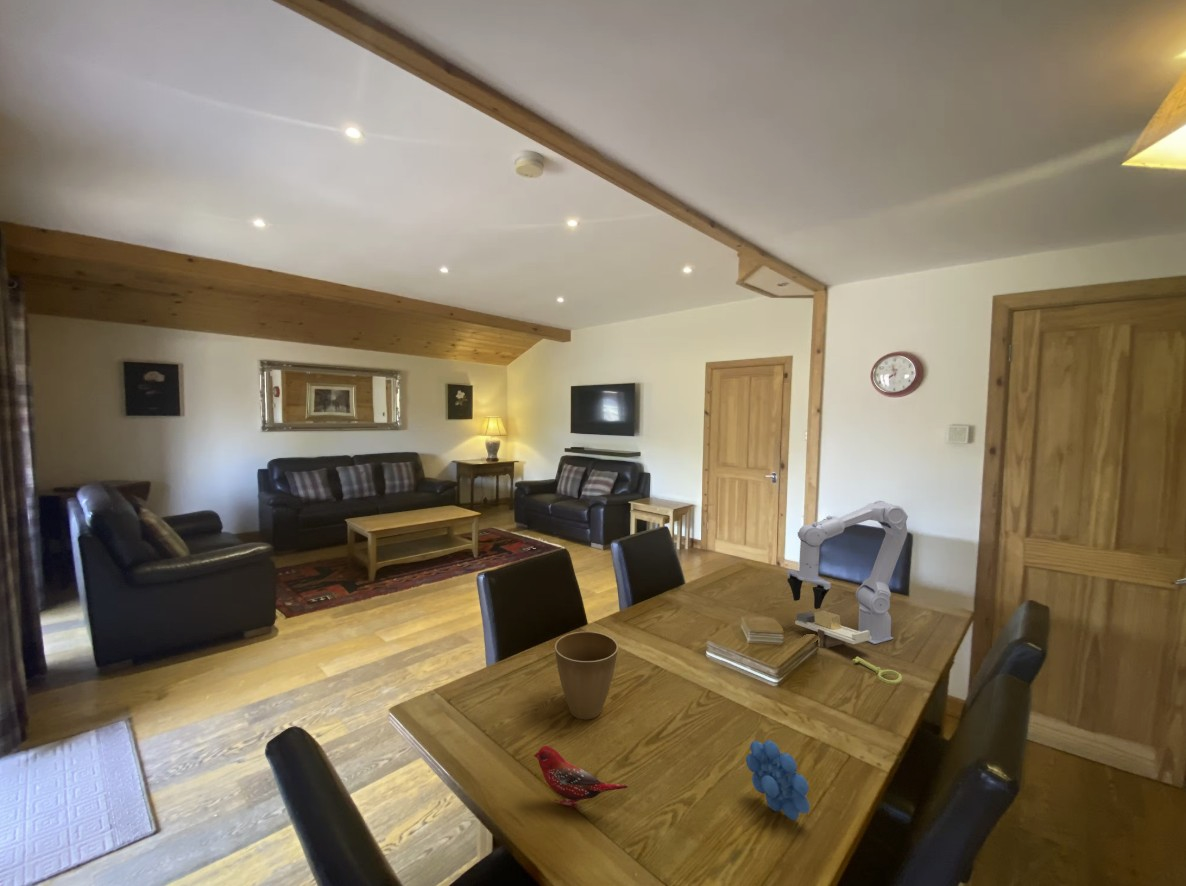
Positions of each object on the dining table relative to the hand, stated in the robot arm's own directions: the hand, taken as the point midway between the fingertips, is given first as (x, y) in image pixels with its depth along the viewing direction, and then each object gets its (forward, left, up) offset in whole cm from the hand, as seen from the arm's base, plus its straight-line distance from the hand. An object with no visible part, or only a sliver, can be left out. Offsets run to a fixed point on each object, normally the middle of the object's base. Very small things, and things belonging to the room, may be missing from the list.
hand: (806, 604), depth 158 cm
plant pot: (+82, +8, -11) cm, 83 cm away
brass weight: (-3, +6, -6) cm, 9 cm away
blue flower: (+64, +49, -11) cm, 82 cm away
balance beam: (-3, +7, -7) cm, 10 cm away
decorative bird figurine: (+95, +34, -11) cm, 102 cm away
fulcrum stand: (-3, +7, -11) cm, 13 cm away
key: (0, +25, -11) cm, 27 cm away
